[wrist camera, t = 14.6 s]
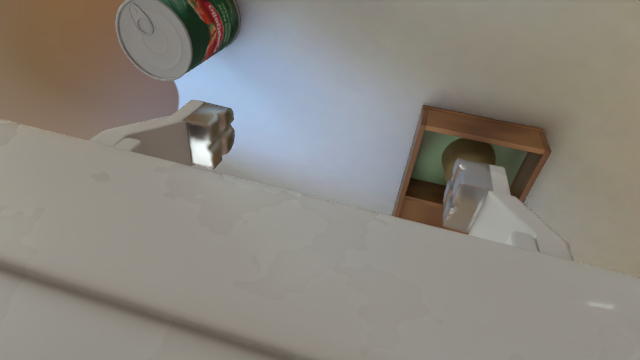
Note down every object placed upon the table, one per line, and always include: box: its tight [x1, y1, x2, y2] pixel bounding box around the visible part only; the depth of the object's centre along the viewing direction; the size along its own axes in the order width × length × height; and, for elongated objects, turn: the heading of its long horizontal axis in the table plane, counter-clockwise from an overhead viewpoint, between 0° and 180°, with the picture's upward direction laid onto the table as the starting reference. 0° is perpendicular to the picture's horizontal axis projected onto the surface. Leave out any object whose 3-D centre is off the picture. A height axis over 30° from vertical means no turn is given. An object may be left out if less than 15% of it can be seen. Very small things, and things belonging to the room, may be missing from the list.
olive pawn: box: [442, 138, 496, 209], centre depth 42 cm, size 6×6×11 cm
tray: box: [392, 105, 551, 235], centre depth 48 cm, size 13×20×5 cm, turn 174°
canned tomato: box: [116, 0, 240, 81], centre depth 41 cm, size 8×8×11 cm
